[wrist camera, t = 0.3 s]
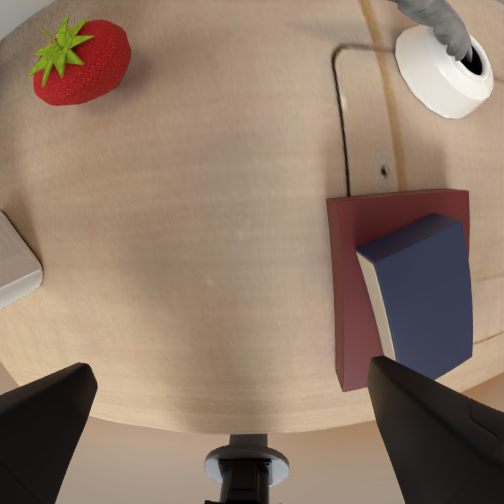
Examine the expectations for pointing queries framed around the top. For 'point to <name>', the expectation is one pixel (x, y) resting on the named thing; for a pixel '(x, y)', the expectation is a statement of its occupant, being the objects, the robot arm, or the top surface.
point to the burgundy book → (350, 273)
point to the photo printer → (16, 266)
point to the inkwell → (442, 59)
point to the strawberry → (81, 62)
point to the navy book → (421, 294)
